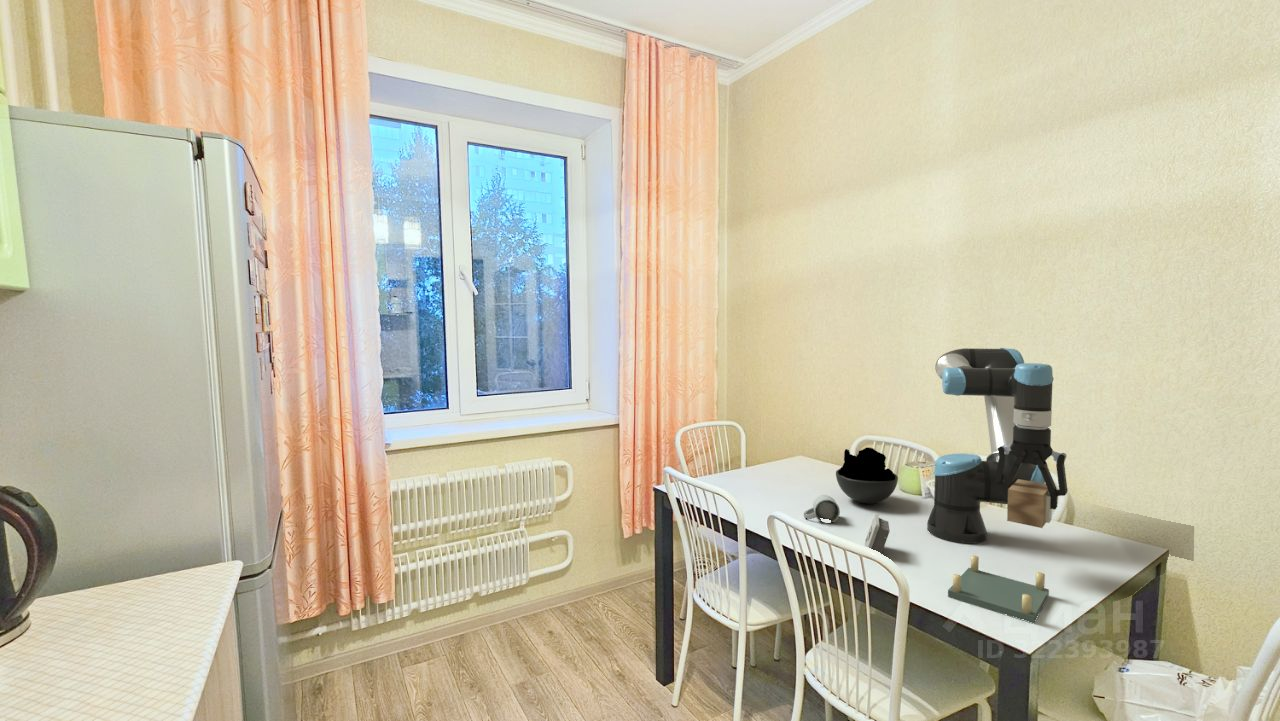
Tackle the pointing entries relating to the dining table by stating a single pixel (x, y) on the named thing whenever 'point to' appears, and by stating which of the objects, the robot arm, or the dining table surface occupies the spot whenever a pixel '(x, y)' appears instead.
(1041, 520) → the walnut block
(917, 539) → the dining table surface
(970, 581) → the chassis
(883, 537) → the electrical switch
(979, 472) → the robot arm
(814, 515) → the ceramic mug
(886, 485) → the bowl of black rocks
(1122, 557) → the dining table surface
